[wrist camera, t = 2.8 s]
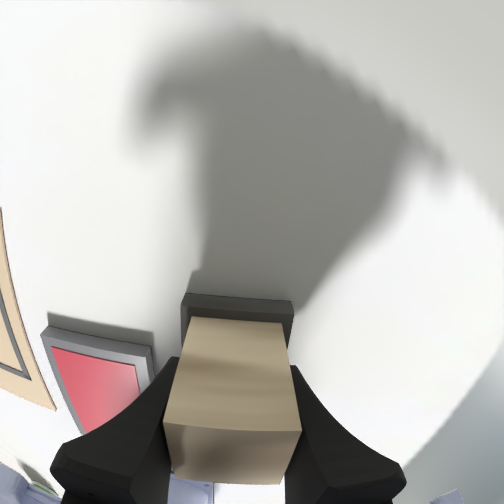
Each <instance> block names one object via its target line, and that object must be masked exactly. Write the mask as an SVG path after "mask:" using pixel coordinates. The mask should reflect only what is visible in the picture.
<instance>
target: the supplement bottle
mask: <svg viewBox="0 0 504 504" xmlns="http://www.w3.org/2000/svg"><path fill="white" fill-rule="evenodd" d="M31 484H32V485H34V486H36V487H38V488H40V489H42V490H44V491H46V492H48V493H50V494H52V495H54V496H57V497H58V495H57V494H56V493H55V492H54V491H52V490H51V489H49V488H47V487H46V486H44V485H42V484H40V483H38V482H36V481H32V482H31Z"/></svg>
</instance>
